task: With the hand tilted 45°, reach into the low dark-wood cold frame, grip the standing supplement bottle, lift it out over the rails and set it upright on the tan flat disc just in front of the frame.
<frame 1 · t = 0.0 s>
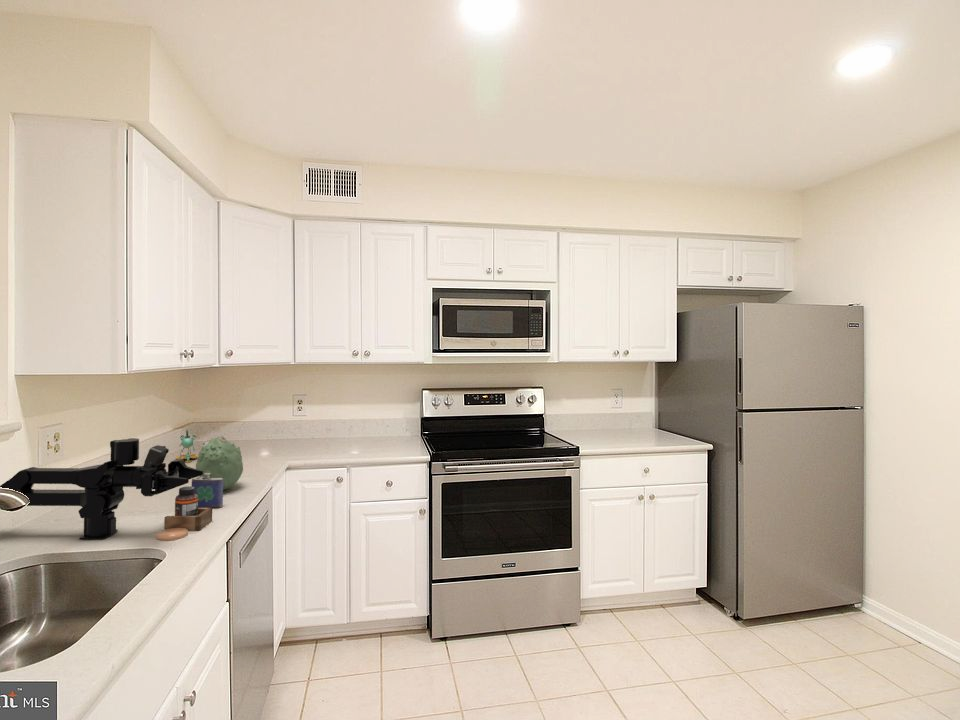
hand: (195, 476, 148), 17 cm above the worktop, fingers open, 9 cm apart
flask: (206, 508, 173), on the worktop
tan flat disc: (172, 535, 147), on the worktop
supplement bottle: (186, 526, 155), on the worktop
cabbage: (219, 490, 194), on the worktop
cold frame: (188, 525, 155), on the worktop
teal round figure: (186, 460, 243), on the worktop
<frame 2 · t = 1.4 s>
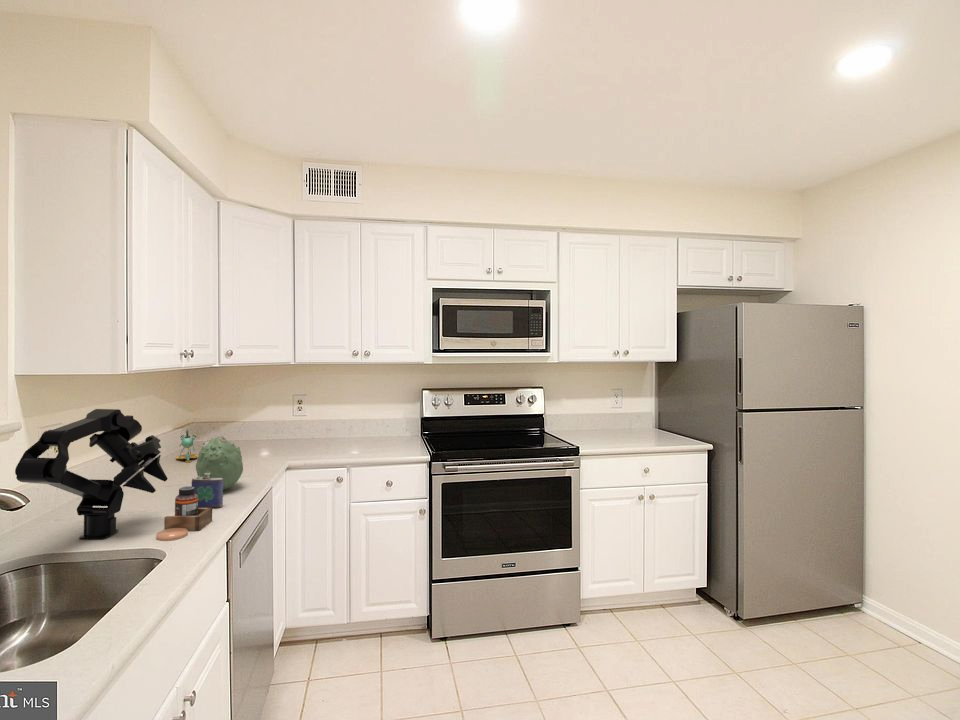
hand: (160, 485, 154), 12 cm above the worktop, fingers open, 9 cm apart
nothing on the worktop moved.
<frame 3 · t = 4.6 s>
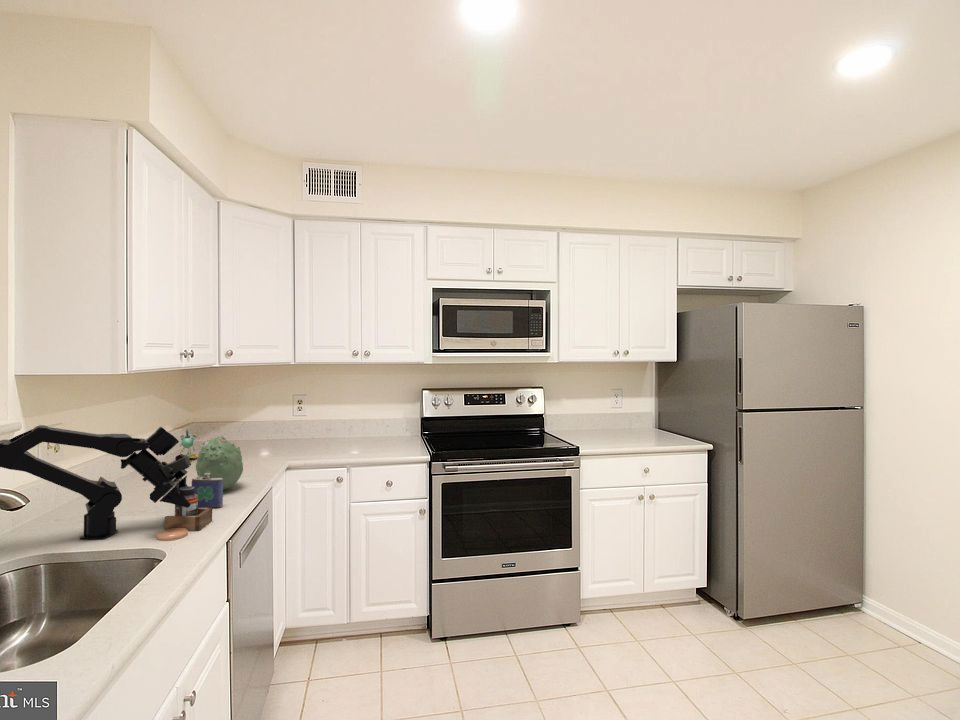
hand: (191, 503, 156), 7 cm above the worktop, fingers closed on supplement bottle, 6 cm apart
supplement bottle: (186, 526, 155), on the worktop, touching gripper
everything else where it was.
when the fingers open (9 cm above the worktop, at t = 8.4 s): supplement bottle stays where it is, resting on tan flat disc.
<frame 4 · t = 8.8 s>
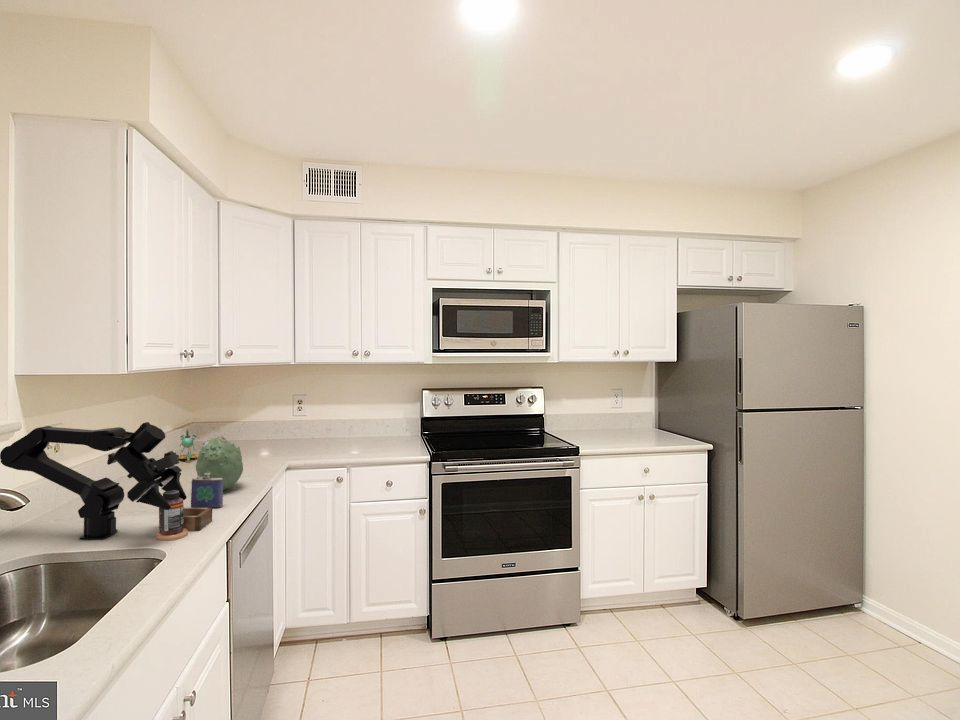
hand: (177, 503, 147), 9 cm above the worktop, fingers open, 9 cm apart
supplement bottle: (171, 532, 147), point 1 cm above the worktop, touching tan flat disc
everything else where it was.
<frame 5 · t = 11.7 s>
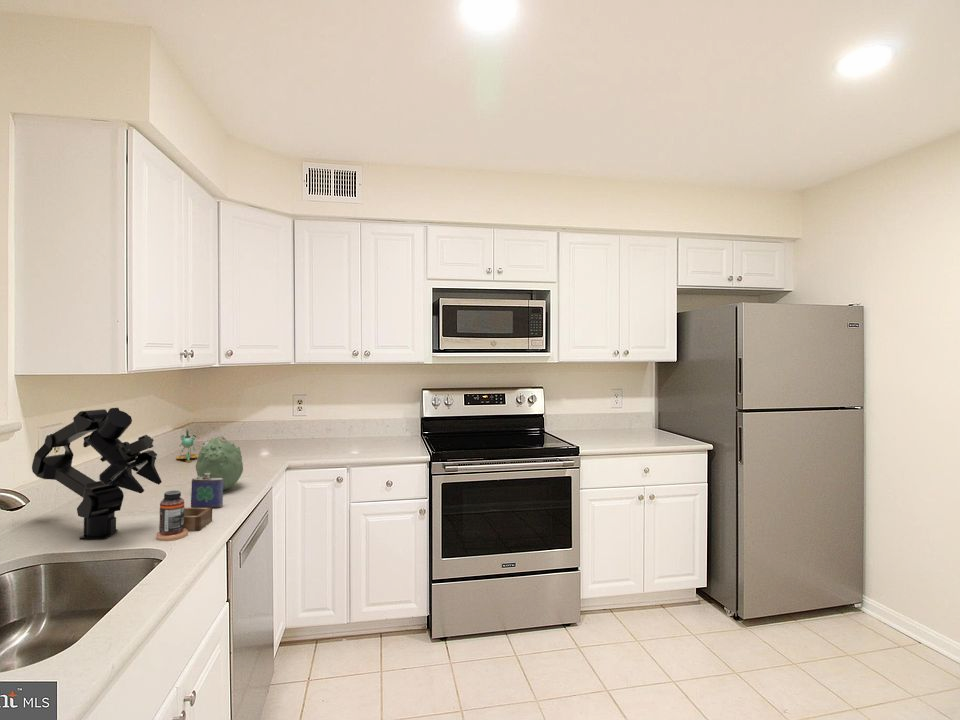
hand: (151, 487, 146), 14 cm above the worktop, fingers open, 9 cm apart
nothing on the worktop moved.
at the end: supplement bottle 0.2 cm off-centre on the tan flat disc, point 0.8 cm above the tan flat disc's base; supplement bottle tilted 1°; the gripper is holding nothing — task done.
